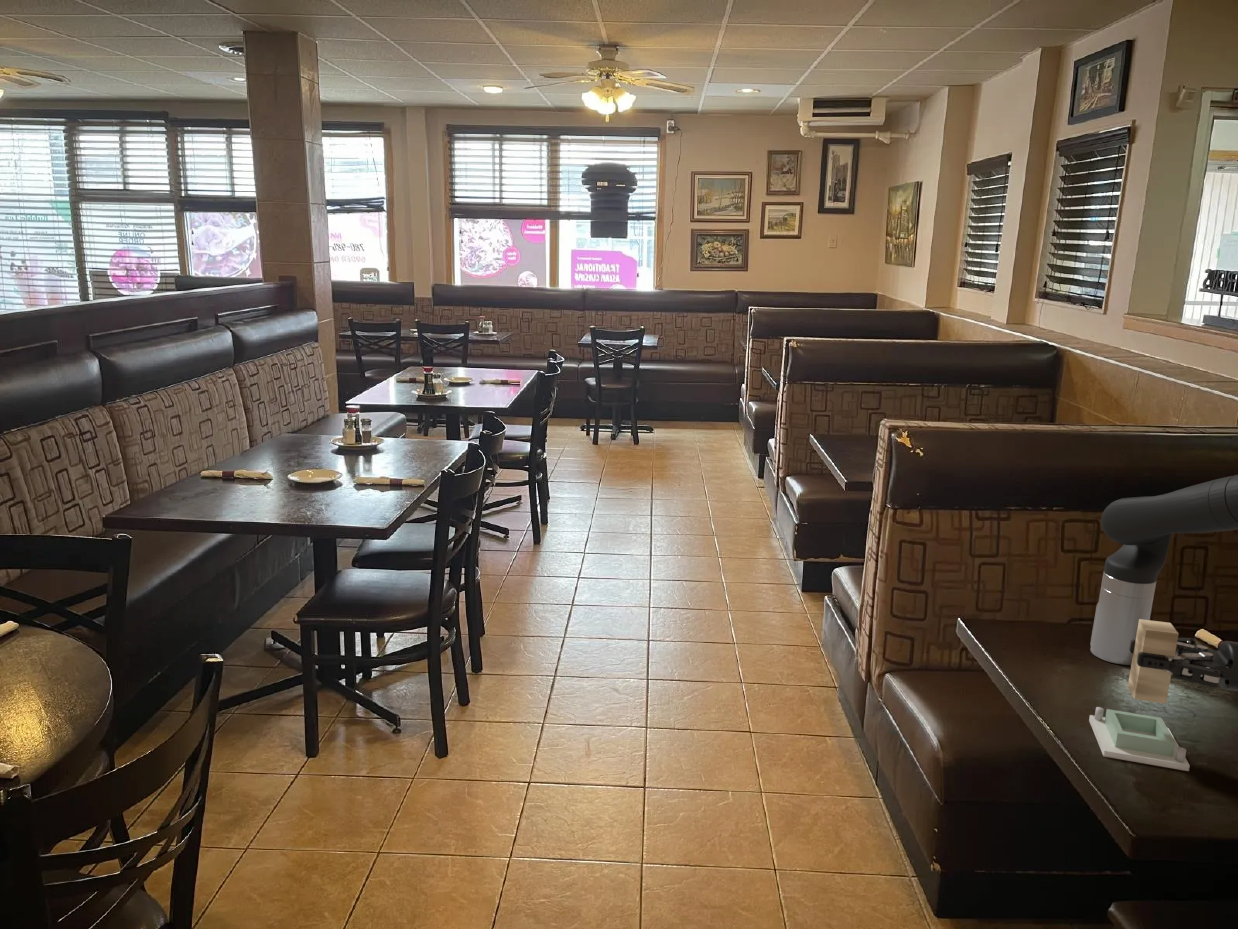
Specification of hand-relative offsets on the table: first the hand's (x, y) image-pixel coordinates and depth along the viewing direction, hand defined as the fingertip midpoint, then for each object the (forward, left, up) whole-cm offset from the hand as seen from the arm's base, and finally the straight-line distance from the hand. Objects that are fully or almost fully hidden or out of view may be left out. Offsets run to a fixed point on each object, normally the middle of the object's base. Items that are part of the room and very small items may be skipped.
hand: (1134, 652), depth 142 cm
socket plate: (+1, +3, -16) cm, 16 cm away
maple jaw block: (+1, +3, -7) cm, 8 cm away
